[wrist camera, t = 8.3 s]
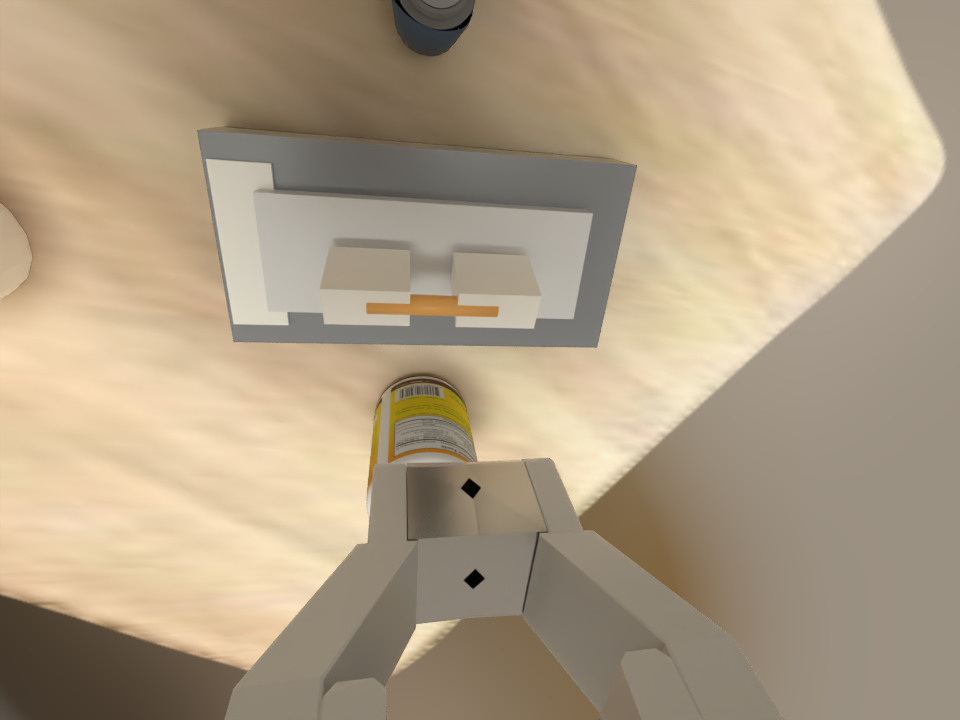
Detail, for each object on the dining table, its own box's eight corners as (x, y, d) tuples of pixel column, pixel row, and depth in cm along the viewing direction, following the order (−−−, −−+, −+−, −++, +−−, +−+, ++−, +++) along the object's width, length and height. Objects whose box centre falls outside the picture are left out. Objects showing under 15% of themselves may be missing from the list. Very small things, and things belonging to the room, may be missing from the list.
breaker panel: (223, 126, 21) (186, 131, 17) (611, 158, 24) (647, 168, 20) (251, 317, 25) (226, 351, 21) (579, 324, 28) (603, 356, 24)
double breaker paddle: (329, 246, 19) (319, 290, 17) (527, 255, 20) (542, 297, 18) (333, 279, 20) (323, 325, 18) (521, 286, 22) (534, 330, 19)
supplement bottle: (416, 461, 31) (421, 605, 22) (355, 408, 28) (332, 547, 20) (484, 413, 30) (517, 544, 21) (426, 354, 27) (436, 474, 18)
